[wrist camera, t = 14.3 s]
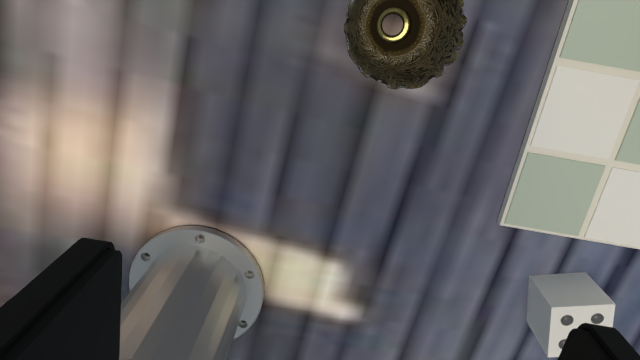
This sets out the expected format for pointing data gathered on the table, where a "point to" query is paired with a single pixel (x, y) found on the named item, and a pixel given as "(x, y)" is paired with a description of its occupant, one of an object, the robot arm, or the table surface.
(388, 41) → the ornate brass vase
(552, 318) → the die
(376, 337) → the table surface
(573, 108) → the game board
